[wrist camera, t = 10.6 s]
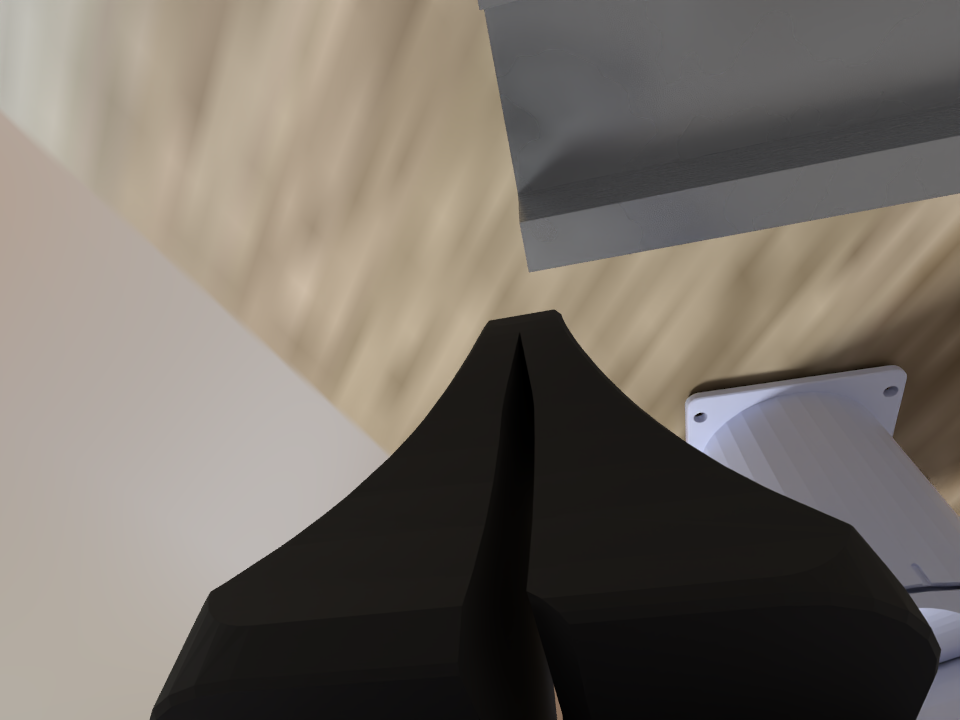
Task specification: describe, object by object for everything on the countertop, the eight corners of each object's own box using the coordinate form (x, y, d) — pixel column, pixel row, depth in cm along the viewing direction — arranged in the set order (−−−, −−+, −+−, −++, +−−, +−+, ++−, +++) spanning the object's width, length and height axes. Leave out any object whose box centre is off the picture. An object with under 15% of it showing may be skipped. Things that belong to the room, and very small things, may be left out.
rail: (1053, 155, 17) (1165, 192, 14) (530, 254, 19) (534, 302, 16) (1218, -335, 12) (1457, -441, 9) (463, -112, 14) (452, -135, 11)
